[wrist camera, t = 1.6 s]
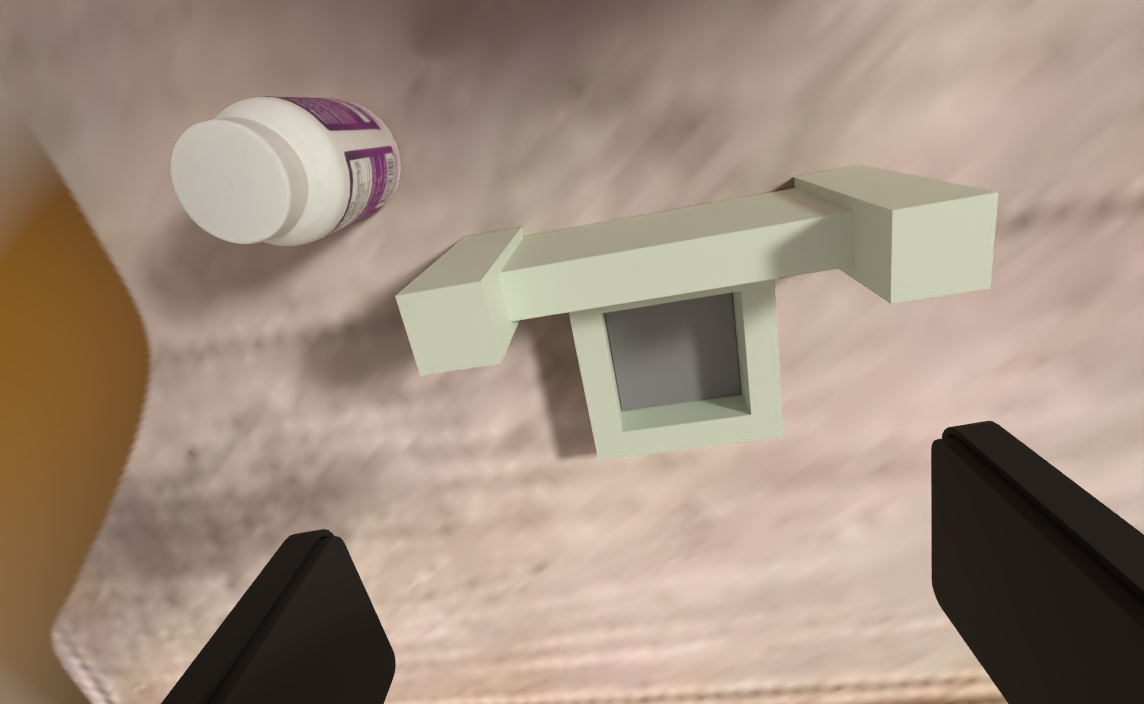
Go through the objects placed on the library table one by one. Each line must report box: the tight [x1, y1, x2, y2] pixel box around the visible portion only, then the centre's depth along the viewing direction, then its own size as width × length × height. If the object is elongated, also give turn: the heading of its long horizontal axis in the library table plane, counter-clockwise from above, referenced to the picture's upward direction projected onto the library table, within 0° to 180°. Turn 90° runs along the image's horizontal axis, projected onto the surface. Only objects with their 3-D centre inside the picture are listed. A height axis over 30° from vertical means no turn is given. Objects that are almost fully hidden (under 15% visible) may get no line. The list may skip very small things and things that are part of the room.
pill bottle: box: [170, 96, 401, 246], centre depth 23 cm, size 5×5×10 cm
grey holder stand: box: [395, 165, 998, 461], centre depth 25 cm, size 12×19×10 cm, turn 101°
